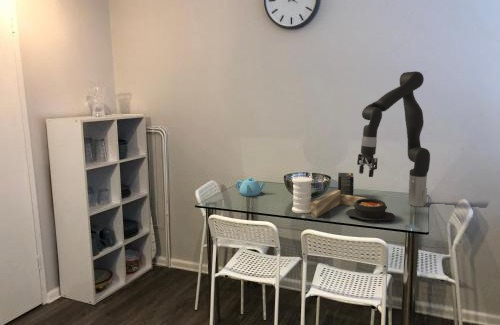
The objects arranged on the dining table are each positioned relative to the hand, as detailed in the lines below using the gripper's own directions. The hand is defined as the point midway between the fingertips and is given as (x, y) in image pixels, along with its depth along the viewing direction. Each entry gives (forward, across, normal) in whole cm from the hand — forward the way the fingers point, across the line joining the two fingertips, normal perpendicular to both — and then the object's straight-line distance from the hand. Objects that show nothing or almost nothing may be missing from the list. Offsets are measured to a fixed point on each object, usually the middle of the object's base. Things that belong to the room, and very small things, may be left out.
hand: (365, 175), depth 221 cm
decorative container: (+24, +18, +27) cm, 40 cm away
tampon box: (+21, +30, -9) cm, 38 cm away
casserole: (+22, -7, 0) cm, 23 cm away
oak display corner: (+22, +8, +9) cm, 25 cm away
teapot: (+25, +62, +42) cm, 79 cm away
